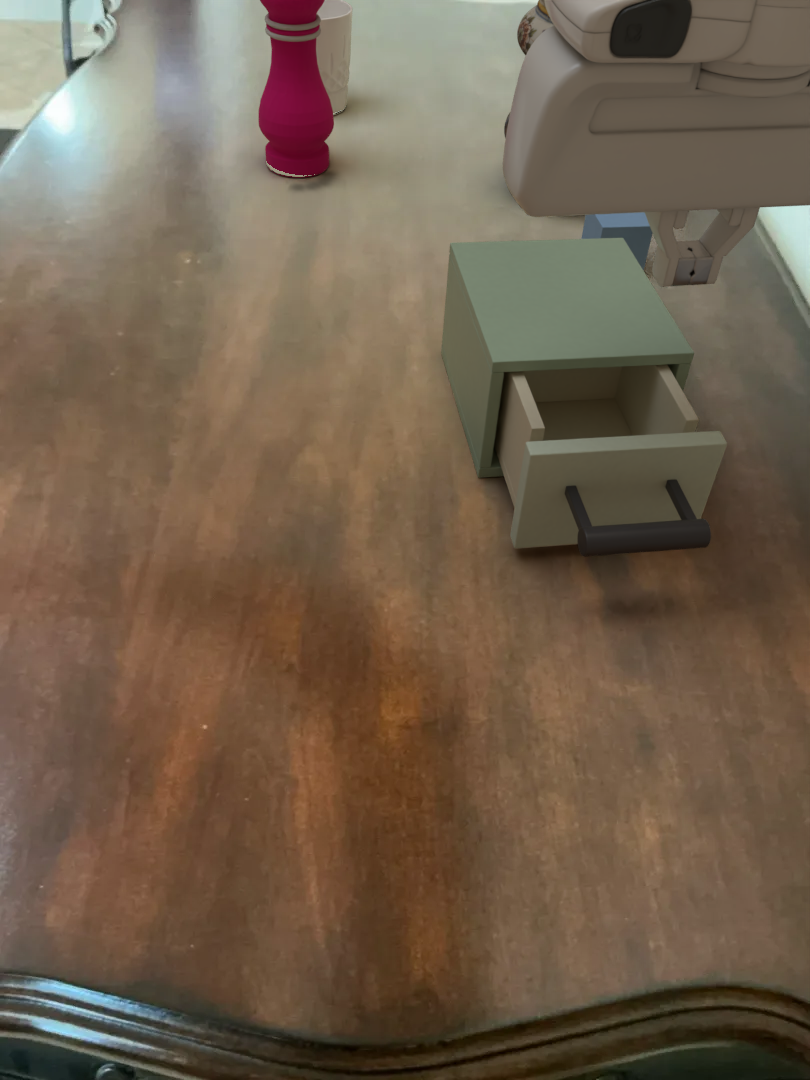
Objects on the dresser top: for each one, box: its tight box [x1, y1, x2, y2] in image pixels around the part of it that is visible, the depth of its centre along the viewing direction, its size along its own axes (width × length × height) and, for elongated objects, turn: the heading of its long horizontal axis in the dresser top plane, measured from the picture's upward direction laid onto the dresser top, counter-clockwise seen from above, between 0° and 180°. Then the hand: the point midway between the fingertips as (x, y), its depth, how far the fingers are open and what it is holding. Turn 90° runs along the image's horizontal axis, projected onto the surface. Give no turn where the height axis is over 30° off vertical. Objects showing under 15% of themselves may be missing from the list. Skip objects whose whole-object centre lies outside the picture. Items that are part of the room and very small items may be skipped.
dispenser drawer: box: [494, 364, 728, 558], centre depth 59 cm, size 18×11×7 cm, turn 8°
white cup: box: [316, 0, 354, 116], centre depth 104 cm, size 8×8×10 cm
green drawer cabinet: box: [440, 238, 695, 479], centre depth 67 cm, size 15×13×9 cm
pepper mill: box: [258, 0, 335, 179], centre depth 90 cm, size 7×7×20 cm
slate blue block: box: [580, 212, 653, 272], centre depth 84 cm, size 4×4×4 cm
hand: (682, 280), depth 51 cm, fingers closed
